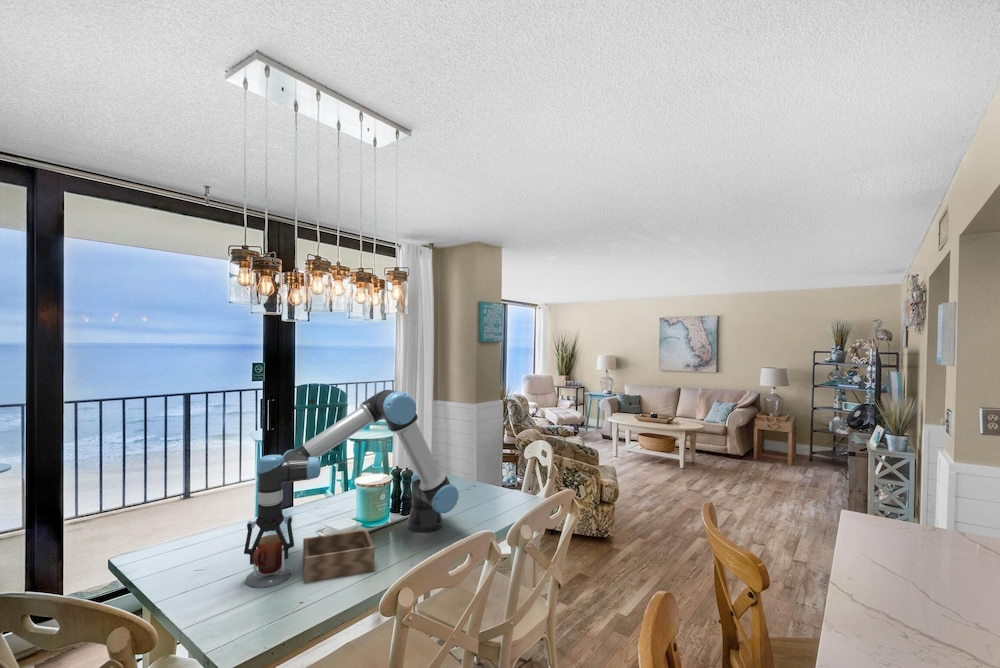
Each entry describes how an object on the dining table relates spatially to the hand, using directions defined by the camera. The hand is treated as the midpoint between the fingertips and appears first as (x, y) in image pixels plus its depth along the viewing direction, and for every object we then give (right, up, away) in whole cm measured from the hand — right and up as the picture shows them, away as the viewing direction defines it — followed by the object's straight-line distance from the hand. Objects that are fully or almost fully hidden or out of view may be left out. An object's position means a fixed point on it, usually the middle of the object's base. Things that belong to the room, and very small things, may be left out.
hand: (269, 571), depth 161 cm
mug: (-1, 0, 0) cm, 1 cm away
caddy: (+20, -2, +9) cm, 22 cm away
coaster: (0, -2, 0) cm, 2 cm away
